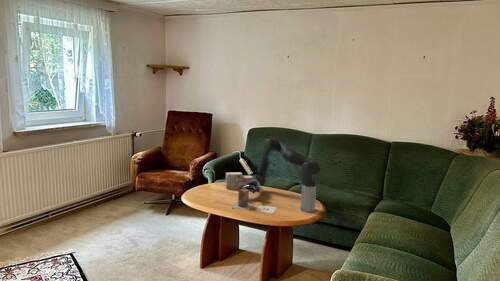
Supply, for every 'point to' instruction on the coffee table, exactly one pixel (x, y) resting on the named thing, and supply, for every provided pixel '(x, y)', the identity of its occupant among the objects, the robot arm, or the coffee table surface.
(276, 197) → the coffee table surface
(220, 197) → the coffee table surface
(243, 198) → the walnut block
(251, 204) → the grey mat
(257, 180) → the robot arm
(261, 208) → the white tile
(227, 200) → the coffee table surface
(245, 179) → the stack of blocks
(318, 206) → the coffee table surface
